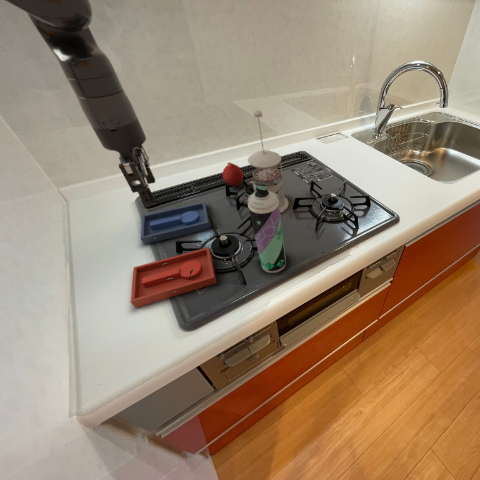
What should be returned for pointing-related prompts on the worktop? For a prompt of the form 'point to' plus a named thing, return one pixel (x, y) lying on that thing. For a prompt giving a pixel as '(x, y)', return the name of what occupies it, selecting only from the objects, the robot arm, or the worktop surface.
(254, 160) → the french press
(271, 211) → the spray can
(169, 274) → the red spoon
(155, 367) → the worktop surface
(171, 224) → the blue spoon
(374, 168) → the worktop surface
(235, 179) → the onion
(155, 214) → the blue tray
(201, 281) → the red tray
